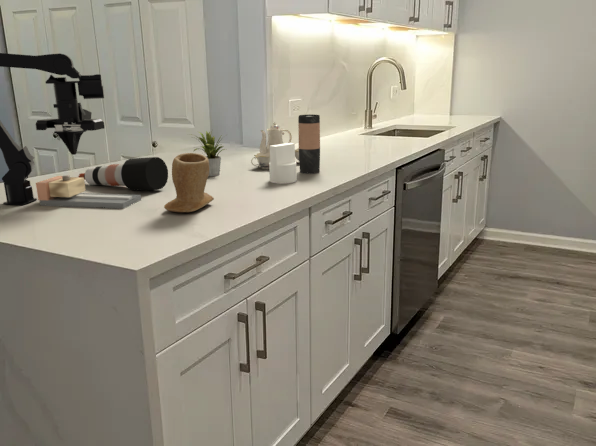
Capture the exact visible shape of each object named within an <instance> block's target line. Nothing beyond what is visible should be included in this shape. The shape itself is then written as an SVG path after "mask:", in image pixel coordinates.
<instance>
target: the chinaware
mask: <svg viewBox="0 0 596 446" xmlns="http://www.w3.org/2000/svg"><path fill="white" fill-rule="evenodd" d="M266 130H267V134H266V132H265V131H264V130H262V129H261V130H260V132H261V135H262V137H261V140H260V144H259V152H258V153H256V154H254V157H252V159H251V160H250V161H251V162H250V163H251V164H252V165H253V166H258V168H262V170H264V169H265V170H268V169H269V163H270V146H272V145H278V144H285V143H284V140H283V135H285V132H287V133H288V136H289V140H288V142H287V143H292V138H293V137H292V136H293V135H292V133H291V131H289V129H284V128H281V126H280V125H278V124H277V122H276V121H273V124H272V125H270V127H269V128H266ZM254 159H255V160H257V163H258V164H255V163H253V160H254ZM295 160H297V161H298V162H299V147H298V148H295Z"/></svg>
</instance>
